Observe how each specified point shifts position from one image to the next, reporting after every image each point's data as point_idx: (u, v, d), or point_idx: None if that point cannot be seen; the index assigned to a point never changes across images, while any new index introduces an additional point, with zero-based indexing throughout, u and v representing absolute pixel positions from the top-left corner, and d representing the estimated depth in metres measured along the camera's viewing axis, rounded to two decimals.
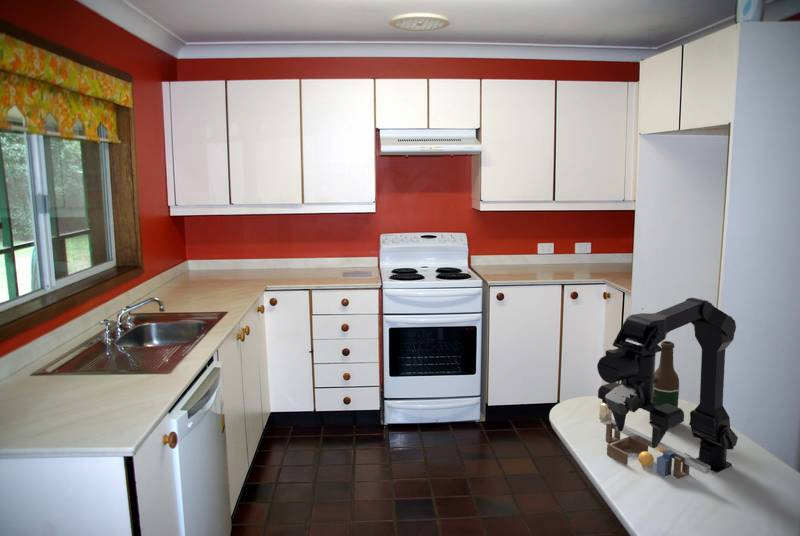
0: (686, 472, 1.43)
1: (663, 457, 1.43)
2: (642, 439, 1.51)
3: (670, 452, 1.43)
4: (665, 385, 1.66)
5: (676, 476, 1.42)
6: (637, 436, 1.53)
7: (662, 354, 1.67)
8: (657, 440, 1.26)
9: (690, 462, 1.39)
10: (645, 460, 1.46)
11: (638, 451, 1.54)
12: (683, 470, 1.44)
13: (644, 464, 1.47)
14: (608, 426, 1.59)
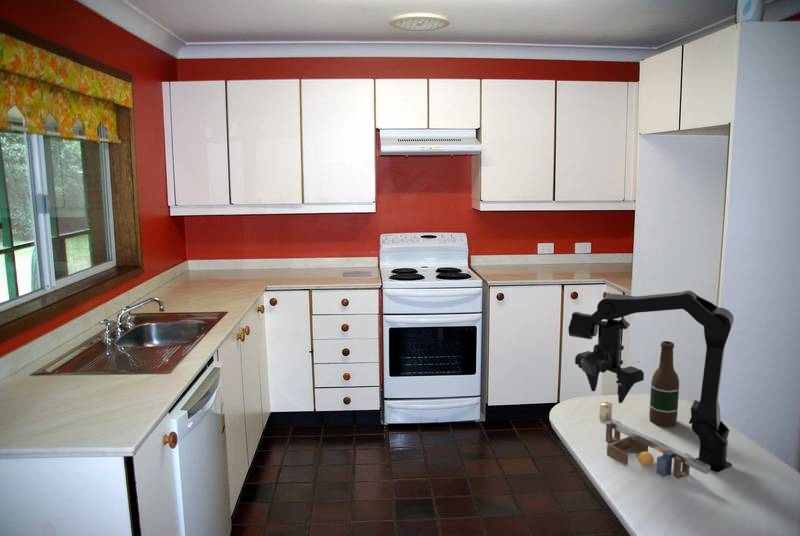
0: (686, 472, 1.43)
1: (663, 457, 1.43)
2: (642, 439, 1.51)
3: (670, 452, 1.43)
4: (665, 385, 1.66)
5: (676, 476, 1.42)
6: (637, 436, 1.53)
7: (662, 354, 1.67)
8: (622, 396, 1.55)
9: (690, 462, 1.39)
10: (645, 460, 1.46)
11: (638, 451, 1.54)
12: (683, 470, 1.44)
13: (644, 464, 1.47)
14: (608, 426, 1.59)
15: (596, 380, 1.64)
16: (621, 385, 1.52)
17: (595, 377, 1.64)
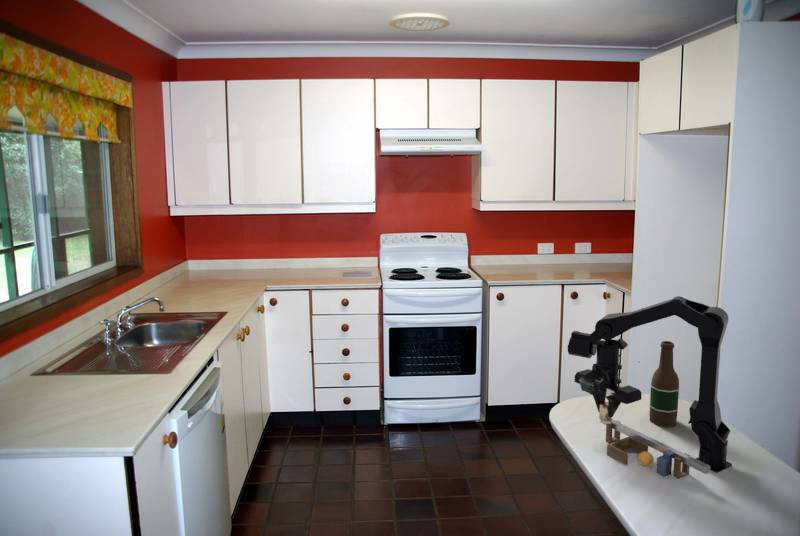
0: (686, 472, 1.43)
1: (663, 457, 1.43)
2: (642, 439, 1.51)
3: (670, 452, 1.43)
4: (665, 385, 1.66)
5: (676, 476, 1.42)
6: (637, 436, 1.53)
7: (662, 354, 1.67)
8: (612, 411, 1.60)
9: (690, 462, 1.39)
10: (645, 460, 1.46)
11: (638, 451, 1.54)
12: (683, 470, 1.44)
13: (644, 464, 1.47)
14: (608, 426, 1.59)
15: (603, 401, 1.64)
16: (610, 400, 1.57)
17: (602, 399, 1.64)
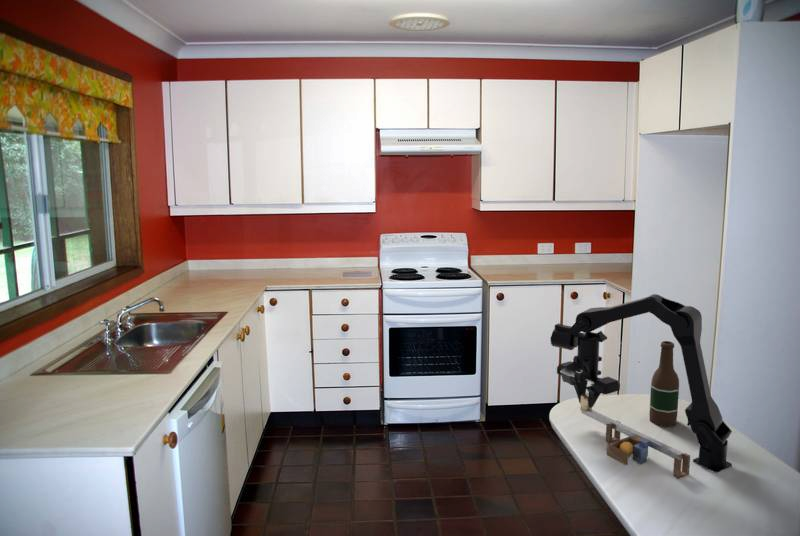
0: (686, 472, 1.43)
1: (639, 445, 1.49)
2: (620, 428, 1.57)
3: (646, 440, 1.49)
4: (665, 385, 1.66)
5: (676, 476, 1.42)
6: (615, 425, 1.59)
7: (662, 354, 1.67)
8: (592, 401, 1.66)
9: (664, 449, 1.46)
10: None
11: None
12: (683, 470, 1.44)
13: (620, 446, 1.53)
14: (608, 426, 1.59)
15: (584, 392, 1.70)
16: (590, 391, 1.63)
17: (583, 389, 1.70)
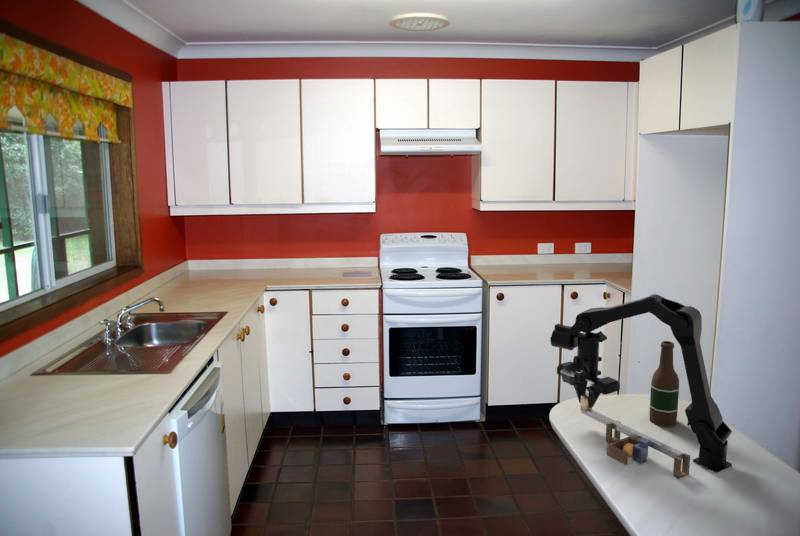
0: (686, 472, 1.43)
1: (639, 445, 1.49)
2: (620, 428, 1.57)
3: (646, 440, 1.49)
4: (665, 385, 1.66)
5: (676, 476, 1.42)
6: (615, 425, 1.59)
7: (662, 354, 1.67)
8: (592, 401, 1.66)
9: (664, 449, 1.46)
10: None
11: None
12: (683, 470, 1.44)
13: (625, 448, 1.51)
14: (608, 426, 1.59)
15: (584, 392, 1.70)
16: (590, 391, 1.63)
17: (583, 390, 1.70)
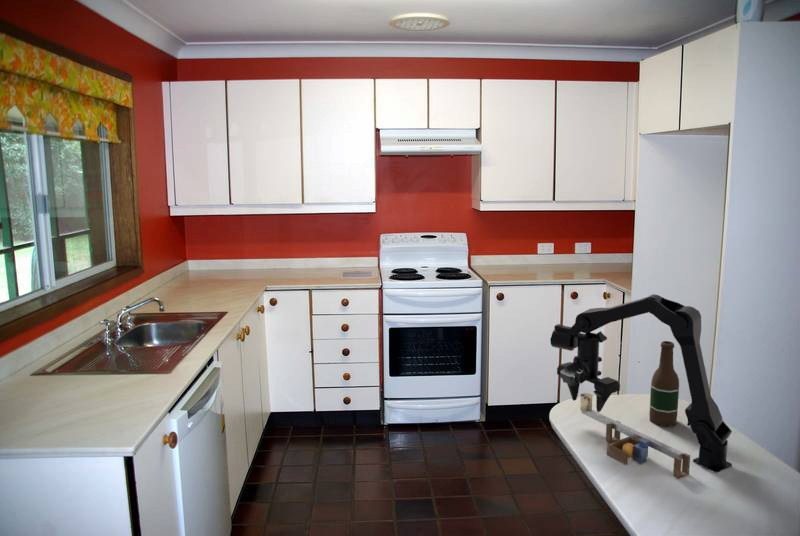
0: (686, 472, 1.43)
1: (639, 445, 1.49)
2: (620, 428, 1.57)
3: (646, 440, 1.49)
4: (665, 385, 1.66)
5: (676, 476, 1.42)
6: (615, 425, 1.59)
7: (662, 354, 1.67)
8: (600, 405, 1.63)
9: (664, 449, 1.46)
10: None
11: None
12: (683, 470, 1.44)
13: (624, 447, 1.52)
14: (608, 426, 1.59)
15: (577, 390, 1.72)
16: (598, 395, 1.61)
17: (576, 387, 1.72)
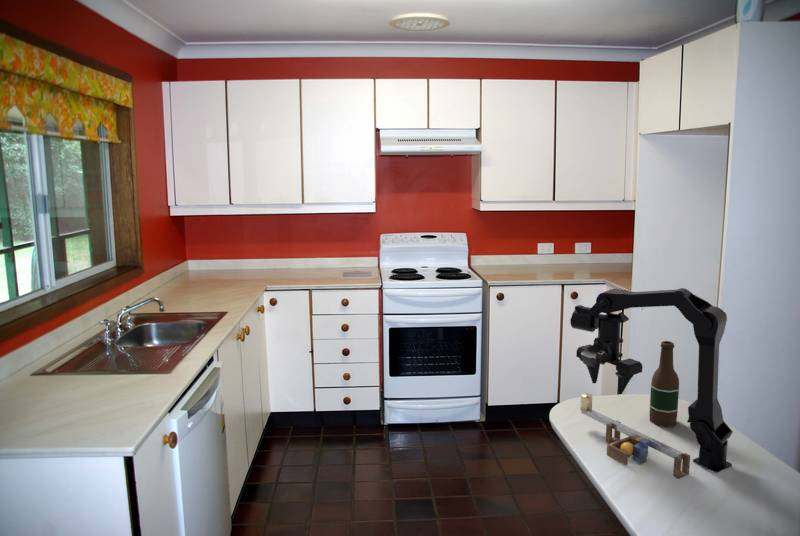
0: (686, 472, 1.43)
1: (639, 445, 1.49)
2: (620, 428, 1.57)
3: (646, 440, 1.49)
4: (665, 385, 1.66)
5: (676, 476, 1.42)
6: (615, 425, 1.59)
7: (662, 354, 1.67)
8: (622, 388, 1.60)
9: (664, 449, 1.46)
10: None
11: None
12: (683, 470, 1.44)
13: (622, 446, 1.52)
14: (608, 426, 1.59)
15: (597, 372, 1.69)
16: (620, 377, 1.57)
17: (596, 369, 1.69)
